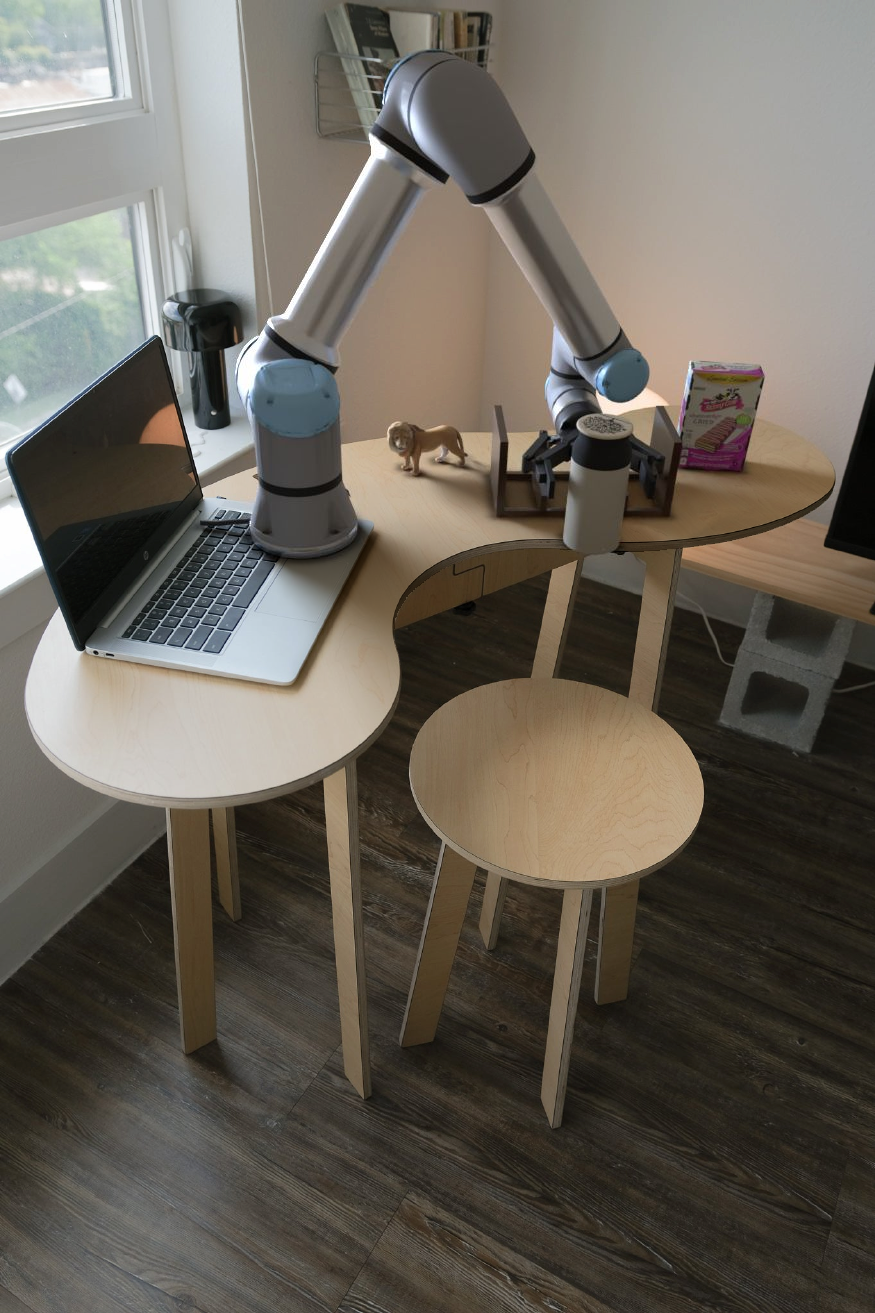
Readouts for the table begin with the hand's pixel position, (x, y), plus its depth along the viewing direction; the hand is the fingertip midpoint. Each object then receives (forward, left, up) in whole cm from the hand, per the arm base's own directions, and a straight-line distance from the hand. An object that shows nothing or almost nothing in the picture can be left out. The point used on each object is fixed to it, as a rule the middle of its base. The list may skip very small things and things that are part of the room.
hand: (602, 490), depth 134 cm
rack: (0, +17, -10) cm, 20 cm away
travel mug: (0, +3, -10) cm, 11 cm away
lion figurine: (-23, +26, -10) cm, 36 cm away
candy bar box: (+23, +28, -10) cm, 38 cm away
